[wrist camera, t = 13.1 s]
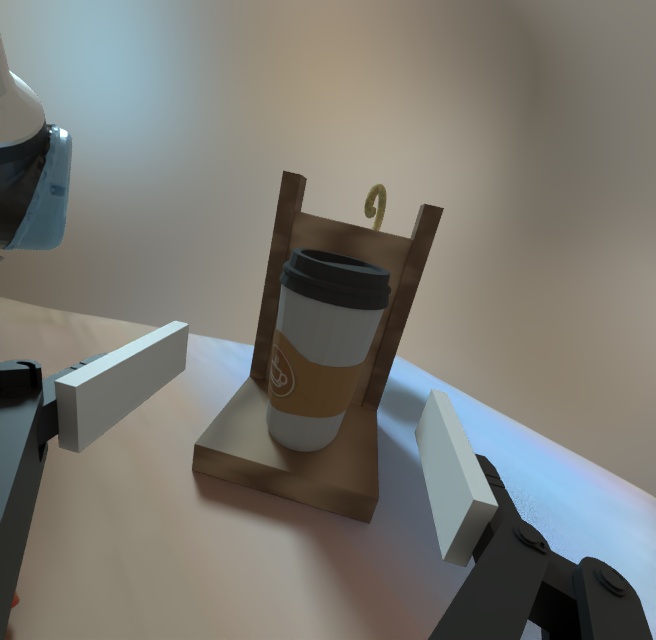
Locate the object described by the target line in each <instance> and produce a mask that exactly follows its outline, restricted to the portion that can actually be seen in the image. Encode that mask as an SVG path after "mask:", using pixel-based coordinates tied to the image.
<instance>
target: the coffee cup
mask: <svg viewBox="0 0 656 640" xmlns="http://www.w3.org/2000/svg"><path fill="white" fill-rule="evenodd" d="M283 268H284V270H283V272H282V274H281V276H280V282H281V283H282V285H281V293H280V302H279V310H278V319H277V327H276V329H275V335H274V344H273V353H272V362H271V370H270V379H269V388H268V404H267V413H266V423H267V425H268V428H269V431H270V434H271V435H272V436H273V438H274V439H275V440H276V441H277V442H279V443H280V444H281V445H283V446H285V447H287V448H289V449H292V450H296V451H301V452H311V451H318V450H320V449H322V448H324V447H326V446H327V445H328V444H329V443H330V442H331V441H332V440H334V439H335V437H336V435H337V433H338V430H339V428H340V425H341V422H342V420H343V417H344V414H345V412H346V409H347V408H348V406H349V404H350V401H351V399H352V396H353V393H354V391H355V388H356V386H357V383H358V380H359V378H360V375H361V372H362V370H363V367H364V365H365V362H366V359H367V357H368V351H369V348H370V345H371V343H372V340H373V338H374V335H375V332H376V330H377V327H378V324H379V322H380V319H381V316H382V314H383V311H384V309H385V308H387V307H388V305H389V294H390V293H391V288H390V286H388V283H389V278H390V272H389V271H388V270H386V269H384V268H382V267H380V266H377V265H374V264H372V263H369V262H366V261H362V260H359V259H356V258H352V257H348V256H344V255H340V254H336V253H331V252H326V251H321V250H315V249H307V248H294V249H293V250H292V253H291V256H290V260H289V261H287V262H285V263H284V265H283Z"/></svg>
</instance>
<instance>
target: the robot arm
mask: <svg viewBox="0 0 656 640" xmlns="http://www.w3.org/2000/svg"><path fill="white" fill-rule="evenodd" d="M71 156H72V138H71V135H70V134H69V133H68V132H67V131H65V130H63V129H60V128H59V127H58V126H56V125H55V124H46V121H45V115H44V111H43V108H42V105H41V102H40V100H39V98H38V97H37V95H36V94H35V93H34V92H33V91H32V89H31V88H30V87H29V86H28V85H27V84H26V83H24V82H23V81H22V80H21V79H20V78H18V77H17V76H16V75H14V74H13V73H12V72H10V71H9V68H8V64H7V60H6V55H5V51H4V47H3V43H2V39H1V35H0V249H3V250H13V249H24V250H51V249H54V248H56V247H57V246H59V245H60V244H61V242H62V240H63V237H64V231H65V224H66V215H67V204H68V194H69V181H70V170H71ZM188 329H189V324H186V323H182V322H178V321H174V322H172V323H170V324H168V325H166V326H164V327H161V328H159V329H157V330H155V331H153V332H151V333H149V334H147V335H145V336H143V337H141V338H139V339H137V340H135V341H133V342H131V343H129V344H127V345H125V346H123V347H121V348H119V349H117V350H115V351H113V352H111V353H109V354H108V353H104V354H100V355H96V356H92V357H90V358H87V359H85V360H83V361H81V362H80V363H77V364H75V365H73V366H71V367H70V368H66V369H64V370H62V371H60V372H58V373H56V374H54V375H52V376H50V377H48V378H45V379H43V380H42V372H41V364H39V363H38V362H36V361H32V360H11V361H5V362H1V363H0V640H4V637H5V632H6V628H7V624H8V619H9V615H10V611H11V606H12V602H13V598H14V593H15V589H16V585H17V580H18V576H19V572H20V568H21V563H22V559H23V555H24V550H25V546H26V542H27V537H28V533H29V529H30V524H31V520H32V516H33V512H34V507H35V503H36V499H37V494H38V490H39V486H40V481H41V477H42V473H43V468H44V464H45V460H46V455H47V451H48V443H47V441H48V440H50V439H51V438H53V437H54V436H56V435H57V434H58V440H59V447H60V448H63V449H67V450H70V451H73V452H77V453H80V452H81V451H82V450H84V449H85V448H86V447H87V446H89V445H90V444H91V443H92V442H94V441H95V440H96V439H98V438H99V437H100V436H101V435H103V434H104V433H105V432H106V431H108V430H109V429H110V428H111V427H113V426H114V425H115V424H117V423H118V422H119V421H120V420H122V419H123V418H124V417H125V416H127V415H128V414H129V413H130V412H132V411H133V410H134V409H136V408H137V407H138V406H139V405H141V404H142V403H143V402H144V401H146V400H147V399H148V398H150V397H151V396H152V395H153V394H155V393H156V392H157V391H158V390H160V389H161V388H162V387H163V386H165V385H166V384H167V383H169V382H170V381H171V380H172V379H174V378H175V377H176V376H177V375H179V374H180V373H181V372H182V371H184V370H185V364H186V353H187V341H188ZM415 436H416V440H417V445H418V449H419V454H420V458H421V463H422V468H423V472H424V477H425V481H426V486H427V490H428V495H429V500H430V504H431V509H432V513H433V518H434V522H435V527H436V531H437V536H438V541H439V545H440V550H441V554H442V559H443V561H447V562H450V563H453V564H457V565H460V566H464V567H466V565H467V564H468V562H469V560H470V558H471V556H472V554H473V558H474V561H475V564H476V565H475V566H474V568H473V569H472V571H471V573H470V574H469V576H468V577H467V579H466V580H465V582H464V584H463V585H462V587H461V588H460V590H459V592H458V593H457V595H456V596H455V598H454V599H453V601H452V603H451V604H450V606H449V607H448V609H447V610H446V612H445V614H444V615H443V617H442V618H441V620H440V622H439V623H438V625H437V626H436V628H435V629H434V631H433V633H432V634H431V636H430V637H429V639H428V640H520V638H521V636H522V633H523V630H524V628H525V625H526V622H527V619H528V620H530V621H531V622H533V623H535V624H536V625H538V626H539V627H541V634H542V640H653V638H652V635H651V632H650V629H649V626H648V623H647V620H646V617H645V614H644V610H643V607H642V604H641V601H640V599H639V597H638V595H637V593H636V591H635V590H634V589H633V587H632V586H631V585H630V584H629V582H628V581H627V580H626V579H625V578H624V577H623V576H622V575H621V574H619V572H617V571H616V570H615V569H613V568H612V567H611V566H609V565H608V564H606V563H605V562H603V561H600V560H598V559H596V558H593V557H585V558H583V559H582V560H581V561H580V563H579V564H578V565H577V564H575V563H573V562H571V561H569V560H568V559H566V558H564V557H562V556H560V555H558V554H556V553H555V552H553V551H551V549H550V547H549V545H548V542H547V541H546V540H545V538H544V537H543V536H542V534H541V533H540V532H539V531H537V530H536V529H535V528H534V527H533V526H532V525H530V524H529V523H527V522H525V521H524V520H522V519H521V517H520V515H519V513H518V511H517V509H516V507H515V505H514V503H513V501H512V499H511V497H510V496H509V494H508V492H507V490H506V489H505V486H504V484H503V482H502V480H500V476H499V474H498V472H497V470H496V468H495V467H494V466H493V465H492V464H491V462H490V461H489V460H488V459H487V458H486V457H485V456H482V455H478V454H474V452H473V449H472V447H471V445H470V443H469V441H468V438H467V436H466V434H465V432H464V430H463V428H462V425H461V423H460V421H459V419H458V417H457V414H456V412H455V410H454V408H453V406H452V404H451V401H450V399H449V397H448V395H447V393H446V392H442V391H438V390H434V389H431V392H430V394H429V397H428V400H427V402H426V405H425V407H424V410H423V413H422V415H421V418H420V420H419V423H418V425H417V428H416V431H415Z"/></svg>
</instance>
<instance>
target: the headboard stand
mask: <svg viewBox="0 0 656 640" xmlns="http://www.w3.org/2000/svg"><path fill="white" fill-rule="evenodd" d="M306 180H307V179H306V178H305V177H303V176H302V175H300V174H295V173H291V172H286V171H283V176H282V182H281V188H280V194H279V200H278V206H277V212H276V219H275V225H274V231H273V237H272V243H271V249H270V255H269V261H268V267H267V274H266V279H265V286H264V292H263V298H262V304H261V310H260V316H259V322H258V328H257V334H256V340H255V347H254V353H253V359H252V365H251V371H250V376H249V377H248V379H247V380H246V381H245V382H244V384H243V385H242V386H241V387H240V389H239V390H238V391H237V392H236V394H235V395H234V396H233V397H232V398H231V400H230V401H229V402H228V403H227V405H226V406H225V407H224V408H223V410H222V411H221V412H220V413H219V414H218V416H217V417H216V418H215V419H214V421H213V422H212V423H211V424H210V426H209V427H208V428H207V429H206V431H205V432H204V433H203V434H202V435H201V437H200V438H199V439H198V440H197V442H196V443H195V445H194V455H193V464H192V470H194V471H198V472H201V473H204V474H208V475H211V476H214V477H218V478H221V479H224V480H228V481H231V482H234V483H237V484H241V485H244V486H247V487H251V488H254V489H257V490H261V491H264V492H267V493H271V494H274V495H277V496H280V497H284V498H287V499H290V500H294V501H297V502H300V503H304V504H307V505H310V506H314V507H317V508H320V509H324V510H327V511H330V512H333V513H337V514H340V515H343V516H347V517H350V518H353V519H357V520H360V521H363V522H367V523H370V521H371V518H372V515H373V512H374V510H375V507H376V504H377V502H378V499H379V489H378V445H377V409H378V406H379V403H380V400H381V397H382V394H383V391H384V388H385V385H386V382H387V379H388V376H389V373H390V370H391V367H392V364H393V361H394V358H395V355H396V352H397V349H398V345H399V342H400V339H401V336H402V333H403V330H404V327H405V324H406V321H407V318H408V315H409V312H410V309H411V306H412V303H413V300H414V297H415V294H416V291H417V288H418V285H419V282H420V279H421V276H422V272H423V270H424V267H425V264H426V261H427V257H428V254H429V251H430V249H431V246H432V242H433V240H434V236H435V233H436V230H437V227H438V224H439V221H440V218H441V215H442V212H443V209H444V208H440V207H436V206H432V205H427V204H424V205H421V206H420V209H419V213H418V216H417V219H416V222H415V226H414V229H413V232H412V235H411V239H410V238H405V237H401V236H397V235H393V234H389V233H384V232H380V231H377V230H372V229H368V228H364V227H360V226H356V225H352V224H348V223H344V222H339V221H335V220H331V219H327V218H323V217H319V216H314V215H311V214H306V213H302V212H301V207H302V201H303V196H304V191H305V185H306ZM294 248H307V249H315V250H321V251H326V252H331V253H336V254H340V255H344V256H348V257H352V258H356V259H359V260H362V261H366V262H369V263H372V264H374V265H377V266H380V267H382V268H384V269H386V270H388V271H389V272H390V278H389V283H388V286H390V288H391V293H390V294H389V305H388V307H387V308H385V309H384V311H383V314H382V316H381V319H380V322H379V324H378V327H377V330H376V332H375V335H374V338H373V340H372V343H371V345H370V348H369V351H368V357H367V359H366V362H365V365H364V367H363V370H362V372H361V375H360V378H359V380H358V383H357V386H356V388H355V391H354V393H353V396H352V399H351V401H350V404H349V406H348V408H347V409H346V412H345V414H344V417H343V420H342V422H341V425H340V428H339V430H338V433H337V435H336V437H335V439H334V440H332V441H331V442H330V443H329V444H328V445H327V446H326V447H324V448H322V449H320V450H318V451H311V452H301V451H296V450H292V449H289V448H287V447H285V446H283V445H281V444H280V443H279V442H277V441H276V440H275V439H274V438H273V436H272V435H271V434H270V431H269V428H268V425H267V423H266V413H267V404H268V388H269V379H270V370H271V362H272V353H273V344H274V335H275V329H276V327H277V319H278V310H279V302H280V293H281V285H282V283H281V282H280V276H281V274H282V272H283V270H284V268H283V265H284V263H285V262H287V261H289V260H290V256H291V253H292V250H293V249H294Z"/></svg>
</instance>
